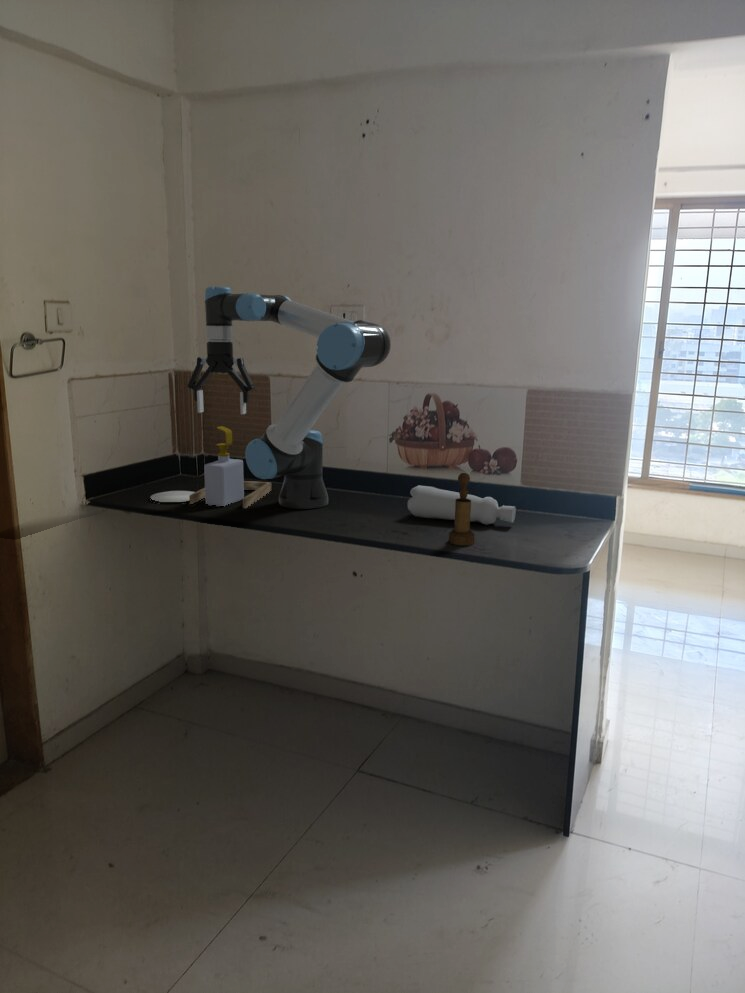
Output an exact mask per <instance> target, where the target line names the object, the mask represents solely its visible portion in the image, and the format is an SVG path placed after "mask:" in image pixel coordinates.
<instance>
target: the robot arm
mask: <svg viewBox="0 0 745 993" xmlns="http://www.w3.org/2000/svg"><path fill="white" fill-rule="evenodd" d="M204 292H205V294H204V296H205V297H204V308H205V309H204V310H205V323H206V324H205V328H206V330H205V332H206V337H205V338H206V340H207V342H206V355H207V356H206V357H203V356H198V357H197V358H196V365H195V367H194V370H193V372H192V375H191V377H190V379H189V382H188V384H187V388H188V389H191V390H193V395H194V396H193V397H194V401H195V402H196V404H197V413H199V414H200V413H201V414H202V413H204V411H205V410H204V391H203V389H202V388H203V386H204V385H205V384H206V382H207V381H208V380H209V378H210V377H211V376H212V374H213V373H214V374H219V373H220V374H227V375H228V376H230V377H231V378H232V379H233V381H234V382H235V384H237V386H238V387H239V388H240V390H241V391H240V392H239V397H240V398H239V400H240V401H239V402H240V403H239V404H240V407H239V408H240V415H245V414H247V404H248V403H249V402H250V397H249V393H250V391H253V390H255V388H256V387H255V384H254V382H253V380H252V379H251V377H250V374H249V372H248V370H247V368H246V366H245V361H244V358H243V357H238V358H234V350H233V349H234V346H233V344H234V343H233V342H232V341H233V321H238V322H273V323H275V324H279V325H282V326H285V327H287V328H289V329H293V330H295V331H298V332H301V333H304V334H307V335H310V336H313V337H315V338H318V339H317V341H316V346H317V349H316V355H315V362H316V365H315V366H314V368H313V369H312V371H311V373H310V374H309V375H308V377H307V379H306V380H305V381H304V382H303V385H302V386H301V387H300V389H299V390H298V392H297V394H296V395H295V397H294V398H293V399H292V400H291V401H290V404H289V405H288V407H287V408H286V410H285V411H284V413H283V414H282V415H281V417H280V419H279V420H278V421H277V423H275V424H270V425H268V427H267V428H266V429H265V430H264V433H263V434H262V436H261V437H260V438H254V439H253V440H251V441H249V443H248V444H247V446H246V448H245V452H244V455H245V462H246V465H247V468H248V469H249V471H250V472H251V474H252V475H253V476H255V477H256V478H257V479H260V480H267V479H275V478H279V477H282V476H284V478H283V482H282V486H281V489H280V492H279V495H278V505H280V506H281V507H283V508H287V509H295V510H307V509H308V510H309V509H311V510H312V509H317V508H322V507H326V506H327V505H329V495H328V491H327V489H326V485H325V482H324V479H323V451H324V450H323V447H324V443H323V434H322V433H321V432H320V431H318V430H314V429H312V428H313V426H314V425H315V424H316V422H317V421H318V420H319V419H320V416H322V414H323V412H324V411H325V409H326V408H327V407H328V405H329V404H330V403H331V401H332V400H333V398H334V397H335V396H336V395H337V393H338V392H339V391H340V389H341V388H342V386H343V385H344V384H348V383H351V382H353V380H354V379H355V377H357V375H358V373H359V372H360V370H362V369H364V368H370V367H373V368H374V367H376V366H378V365H380V364H382V363H383V362H384V361H385V360H386V359H387V358H388V356H389V354H390V351H391V339H390V335H389V333H388V331H387V330H386V329H385V328H384V327H383V326H381V325H380V324H378V323H374V322H370V321H369V322H368V321H365V320H362V319H356V320H354V321H353V320H350V319H347V318H344V317H342V316H338V315H335V314H332V313H330V312H326V311H323V310H321V309H318V308H314V307H311V306H309V305H305V304H303V303H300V302H296V301H293V300H291V299H290V297H288V296H285V295H280V294H274V295H273V294H257V293H252V292H251V293H249V292H246V293H232V290H231V287H229V286H208V287H206V288H205V291H204ZM205 364H207V365H208V367H207V369H205V372H204V374H203V375H202V376H201V377H200V375H201V372H202V371H203V368H204V366H205ZM234 364H235V366H236V367H237V369H238V371H239V373H240V374H241V375H239V374H238V373H237V372H236V370H235V369H234ZM240 376H241V377H242V378H241V377H240ZM199 378H200V379H199Z"/></svg>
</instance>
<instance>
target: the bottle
mask: <svg viewBox="0 0 745 993" xmlns="http://www.w3.org/2000/svg"><path fill="white" fill-rule="evenodd" d="M409 493H410V496H412V497H410V498H409V499H408V500H407V510H409V511H410V514H412V515H413V516H414V517H416V518H417V517H419V518H425V519H438V520H439V519H440V520H450V521H455V502H456V499H458V498H460V494H459V491H458V492H456V491H453V490H452V491H451V490H446V489H441V488H437V487H434V486H427V485H420V484H419V485H417V486H415V487H412V488H411V489H410V491H409ZM466 499H469V500H471V513H470V523H471V522H480V523H481V524H484V525H486V526H487V525H488V526H489V525H492V524H494V523H495V522H496V519H497V518H498V519H499V520H500V521H501V522H502V521H504V522H508V523H514V521H515V518H516V512H517V509H516V508H517V507H516V506H512V505H504V504H503V505H502V506H500V507H499V503H498V501H497V500H496V499H494V498H493V497H492V496H485V497H483V498H482V497H479V496H476V495H473V494H469V493H468V495H467V498H466Z"/></svg>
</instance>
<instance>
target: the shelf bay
mask: <svg viewBox="0 0 745 993" xmlns="http://www.w3.org/2000/svg"><path fill="white" fill-rule="evenodd" d="M272 489H273V488H272V482H271V481H270V482H269V481H268V482H266V481H252V480H251V481H249V480H248V481H247V480H244V490H255V491H251V493H249V494H247V495H246V496H244V498H243V499H242V509H247V508H249V507H251V506H252V505H253V504H255V503H256V502H258V501H259V500H261V499H262V498H264V497H266V496H267V495H268V494H270V493H271V492H270V491H273V490H272ZM194 492H195V493H193V494H191V495H189V499H190V502H189V505H190V504H193V503H195V502H198V501H199V500H201V499H203V498H205V487H203V488H201V489H199V490H197V491H194ZM269 492H270V493H269ZM267 493H268V494H267ZM266 494H267V495H266ZM263 496H264V497H263ZM260 498H261V499H260ZM203 500H204V499H203ZM257 500H258V501H257ZM201 501H202V500H201ZM254 502H255V503H254ZM198 503H199V502H198ZM251 504H252V505H251ZM248 506H249V507H248Z"/></svg>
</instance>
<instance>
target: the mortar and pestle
mask: <svg viewBox="0 0 745 993" xmlns="http://www.w3.org/2000/svg"><path fill="white" fill-rule="evenodd" d="M470 481H471V477H470V475H469V473H467V472H461V473H459V474H458V477H457V482H458V484H459V486H460V490H459V491H458V493H459V494H460V498H458V499H456V502H455V520H454V526H453V529H452V530H451V531H449V533H448V543H450V544H453V545H455V546H472V545H473V544H475V533H474V532H473V531H472V530H471V529H470V527H471V522H470V513H471V500H469V499H466V498H467V495H468V494H469V491H468V489H467V487H468V485H469V483H470Z"/></svg>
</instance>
